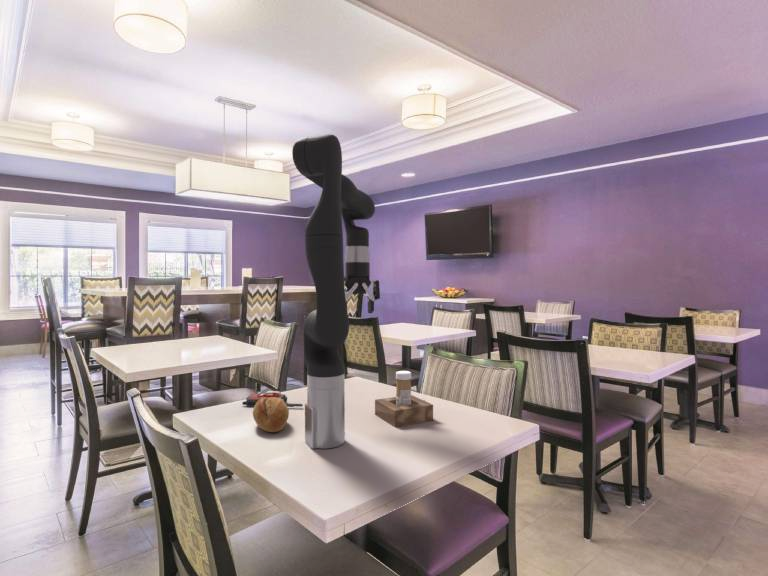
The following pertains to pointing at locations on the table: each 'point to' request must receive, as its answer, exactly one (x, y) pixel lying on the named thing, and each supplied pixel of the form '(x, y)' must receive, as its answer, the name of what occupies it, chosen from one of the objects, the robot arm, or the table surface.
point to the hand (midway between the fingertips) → (357, 313)
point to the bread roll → (271, 414)
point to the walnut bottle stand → (403, 411)
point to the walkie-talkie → (254, 398)
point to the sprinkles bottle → (403, 388)
